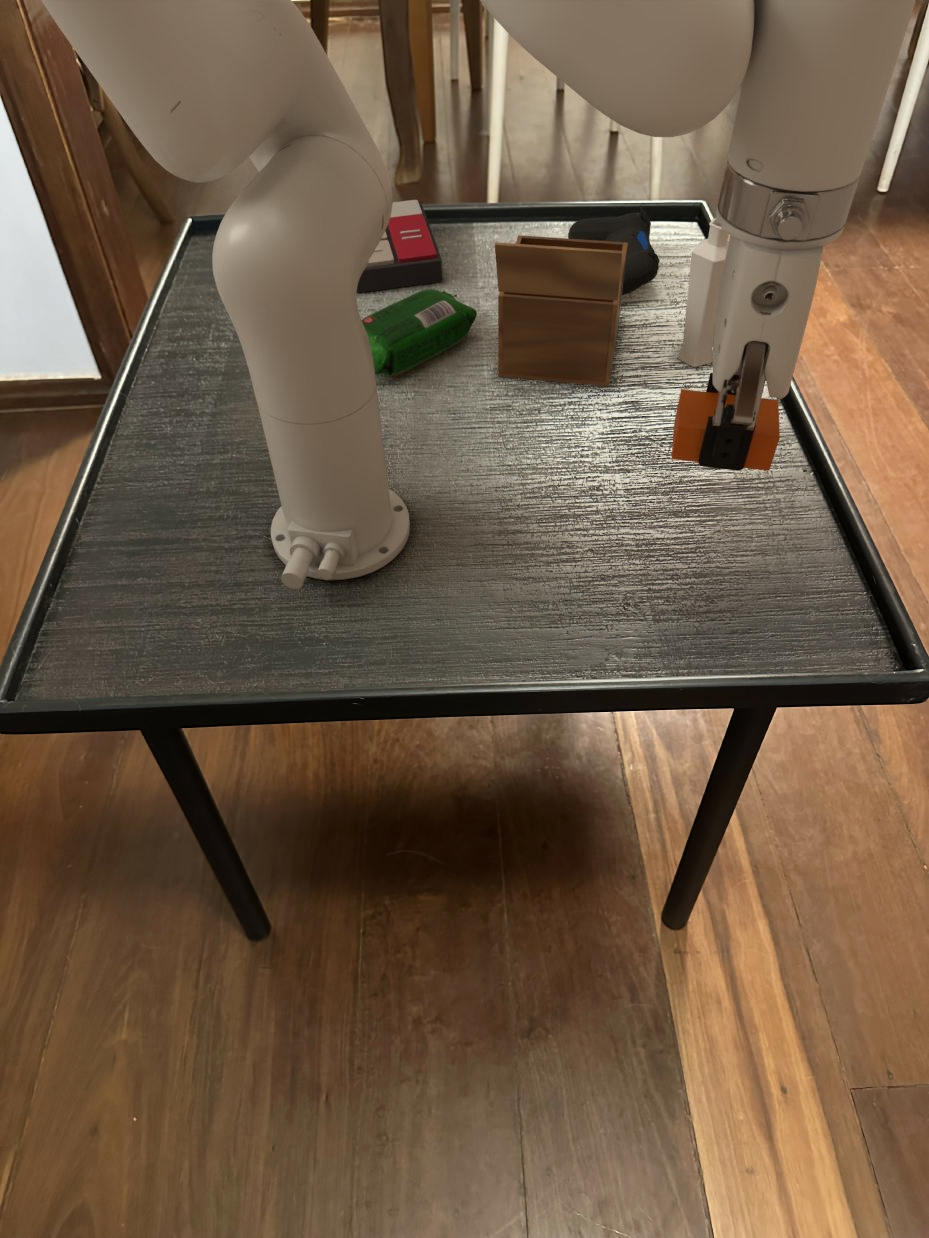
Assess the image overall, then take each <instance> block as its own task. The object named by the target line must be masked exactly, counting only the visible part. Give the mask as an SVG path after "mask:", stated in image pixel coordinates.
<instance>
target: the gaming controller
mask: <svg viewBox="0 0 929 1238" xmlns="http://www.w3.org/2000/svg"><path fill="white" fill-rule="evenodd" d="M639 210H640V212H629V213H626V214H623V215H618V216H606V217H589V218H583V219H578V220H576V221H575V222H573V223H572V225H571V226H570V227H569V230H568V234H567V239H581V240H596V241H611V242H623V243H624V242H626V243H628V247H627V256H626V265H625V274H624V283H623V292H622V296H625V295H628V294H631V293H633V292H635V291H637V290H638V289H640V288H641V287H643V286H645V285H648V284H649V283H650V282H652V281H653V280H654V279H655V278H656V276H657V275H658V272H659V268H660V266H659V265H660V257H659V255H658V254H657V253H656V252H655V248H654V247H653V246H652V245H651V242H650V241H651V240H650V235H651V225H652V222H651V220H650V217H648V216H647V212H646V211H645V210H644V208H643V206H642V205H639Z"/></svg>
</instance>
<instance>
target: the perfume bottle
mask: <svg viewBox="0 0 929 1238" xmlns="http://www.w3.org/2000/svg"><path fill="white" fill-rule="evenodd" d="M708 224H709V229H708V230H709V231H708V236H707V238H704V239H701V240H700V241H699V242H698V243H697V244H696V245H695V247H694V248H693V249H692V250H691V255H690V265H689V276H688V287H687V298H686V307H685V308H686V309H685V319H684V320H685V321H684V329H683V339H682V345H681V346H682V347H681V348H680V350H679V352H678V355H677V357H676V358H677V359H678V360H680V361H682V362H683V363H685V364H687V365H688V366H690V367H693V368H697V367H700V366H705V365H708V364H711V363H712V364H713V340H714V325H715V315H716V306H717V300H718V293H719V287H720V282H721V277H722V272H723V267H724V262H725V258H726V253H727V248H728V244H729V240H728V239H729V235H730V234H729V233H727V232H726V231H725V230H724V229H723V228H721V226H720V225H719V224H718V222H717V220H716V217H714V218H713V219H712V220H711V221H710V222H709V223H708Z"/></svg>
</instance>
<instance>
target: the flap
mask: <svg viewBox="0 0 929 1238" xmlns="http://www.w3.org/2000/svg"><path fill="white" fill-rule="evenodd" d="M494 253H495V255H494V256H495V265H496V275H497V276H496V277H497V291H498V292H499V293H500V292H511V293H524V294H537V295H550V296H564V297H577V298H590V299H603V300H616V301H618V293H619V283H620V272H621V261H622V251H615V250H600V249H585V248H571V247H556V246H541V245H527V244H516V243H513V242H512V243H511V242H494Z"/></svg>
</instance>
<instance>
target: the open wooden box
mask: <svg viewBox="0 0 929 1238" xmlns="http://www.w3.org/2000/svg"><path fill="white" fill-rule="evenodd" d="M515 244H527V245H541V246H556V247H571V248H585V249H600V250H615V251H622V261H621V272H620V283H619V293H618V301H616V300H603V299H590V298H577V297H564V296H550V295H537V294H524V293H511V292H499V293H498V296H497V316H498V317H497V318H498V319H497V323H498V324H497V376H498V377H500V378H510V379H511V378H512V379H520V380H521V379H522V380H533V381H544V382H554V383H564V384H565V383H566V384H577V385H589V386H599V387H600V386H601V387H610V384H611V376H612V370H613V364H614V357H615V350H616V345H617V338H618V332H619V326H620V318H621V310H622V300H623V295H622V292H623V283H624V274H625V265H626V256H627V247H628V243H626V242H624V243H623V242H611V241H596V240H581V239H568V238H566V237H565V238H564V237H552V236H551V237H550V236H535V235H520V234H518V235H517V237H516V241H515Z"/></svg>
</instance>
